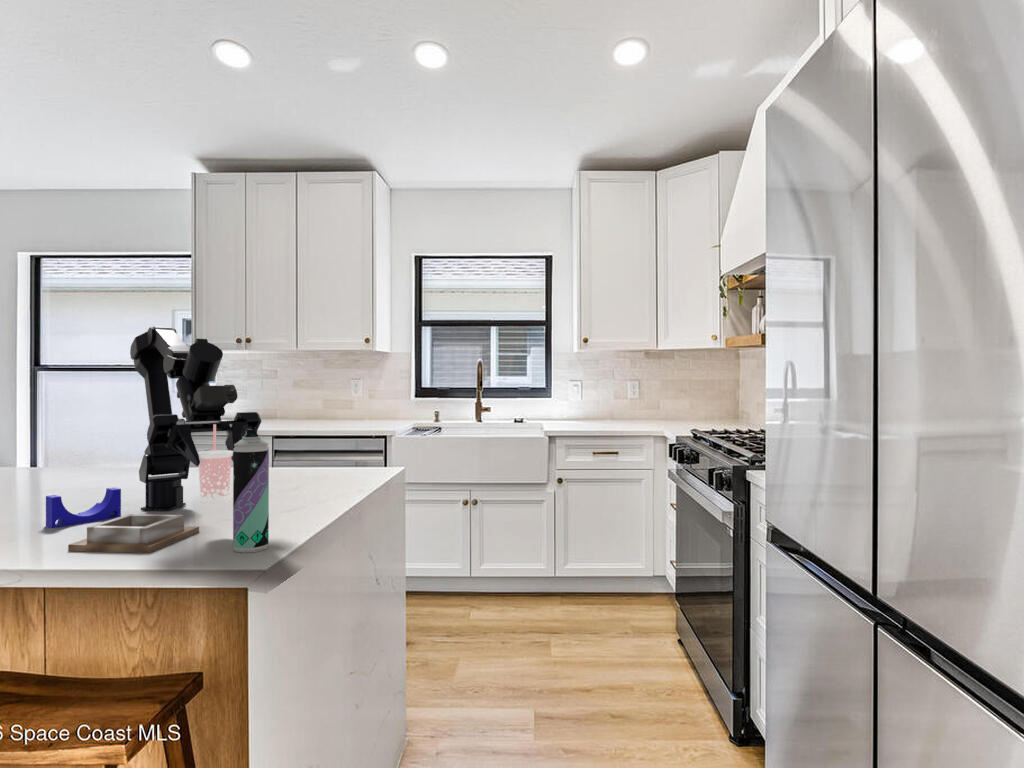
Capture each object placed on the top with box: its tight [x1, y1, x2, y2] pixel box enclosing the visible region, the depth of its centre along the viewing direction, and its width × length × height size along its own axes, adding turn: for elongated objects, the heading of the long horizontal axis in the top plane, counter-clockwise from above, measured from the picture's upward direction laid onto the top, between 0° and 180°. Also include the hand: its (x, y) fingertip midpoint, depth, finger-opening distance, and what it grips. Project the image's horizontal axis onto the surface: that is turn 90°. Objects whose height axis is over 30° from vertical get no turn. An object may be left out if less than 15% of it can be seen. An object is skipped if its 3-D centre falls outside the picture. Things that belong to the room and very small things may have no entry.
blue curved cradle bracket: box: [45, 487, 122, 529], centre depth 124 cm, size 12×4×6 cm, turn 145°
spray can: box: [232, 429, 270, 554], centre depth 104 cm, size 6×6×20 cm
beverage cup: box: [197, 424, 233, 505], centre depth 113 cm, size 6×6×14 cm
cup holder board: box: [67, 513, 200, 554], centre depth 108 cm, size 14×14×4 cm
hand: (217, 462), depth 112 cm, fingers closed on beverage cup, 6 cm apart
